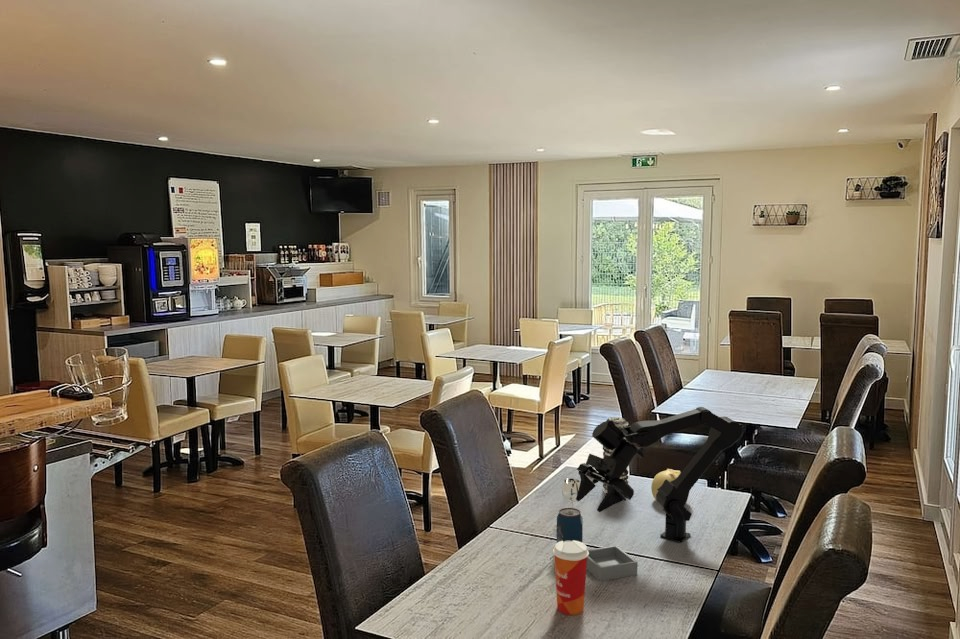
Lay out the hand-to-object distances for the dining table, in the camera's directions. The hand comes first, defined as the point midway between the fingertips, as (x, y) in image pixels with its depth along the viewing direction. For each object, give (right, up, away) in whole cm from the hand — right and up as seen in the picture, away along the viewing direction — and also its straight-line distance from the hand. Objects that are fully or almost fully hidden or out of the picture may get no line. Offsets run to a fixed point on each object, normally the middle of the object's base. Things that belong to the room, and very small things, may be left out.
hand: (587, 505), depth 196 cm
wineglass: (-1, -10, +23) cm, 25 cm away
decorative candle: (+16, -7, +47) cm, 50 cm away
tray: (+4, -14, -10) cm, 17 cm away
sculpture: (+32, -9, +36) cm, 49 cm away
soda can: (-5, -13, -2) cm, 14 cm away
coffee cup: (-8, -16, -30) cm, 35 cm away
